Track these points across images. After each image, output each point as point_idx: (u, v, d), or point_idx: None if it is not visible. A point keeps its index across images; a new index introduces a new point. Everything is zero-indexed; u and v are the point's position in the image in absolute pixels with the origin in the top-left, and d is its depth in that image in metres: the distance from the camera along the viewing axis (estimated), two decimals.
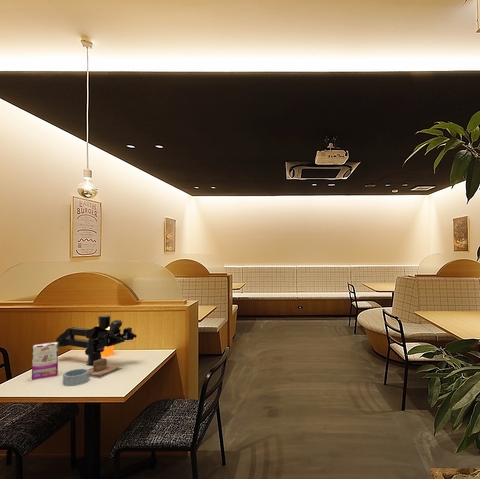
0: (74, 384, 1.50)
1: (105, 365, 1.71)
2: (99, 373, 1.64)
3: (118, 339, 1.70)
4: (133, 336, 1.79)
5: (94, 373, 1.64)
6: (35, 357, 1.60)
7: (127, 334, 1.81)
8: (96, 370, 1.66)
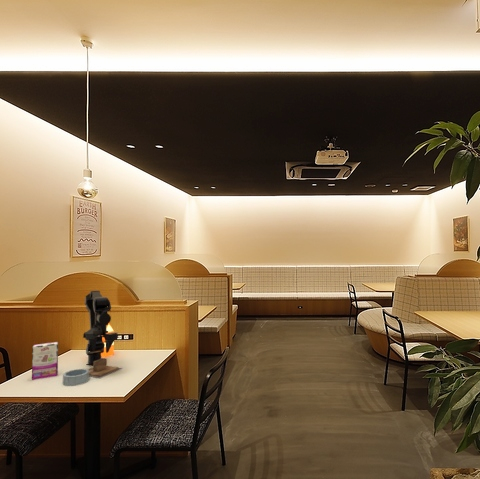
0: (74, 384, 1.50)
1: (105, 365, 1.71)
2: (99, 373, 1.64)
3: None
4: None
5: (94, 373, 1.64)
6: (35, 357, 1.60)
7: None
8: (96, 370, 1.66)
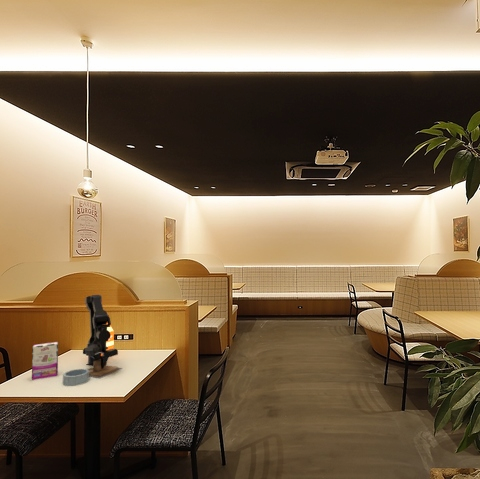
0: (74, 384, 1.50)
1: (105, 365, 1.71)
2: (99, 373, 1.64)
3: None
4: None
5: (94, 373, 1.64)
6: (35, 357, 1.60)
7: None
8: (96, 370, 1.66)
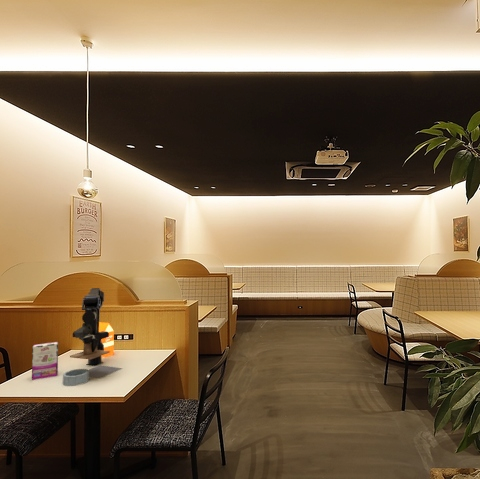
0: (74, 384, 1.50)
1: (96, 348, 1.65)
2: (89, 356, 1.58)
3: None
4: None
5: (84, 356, 1.58)
6: (35, 357, 1.60)
7: None
8: (86, 353, 1.61)
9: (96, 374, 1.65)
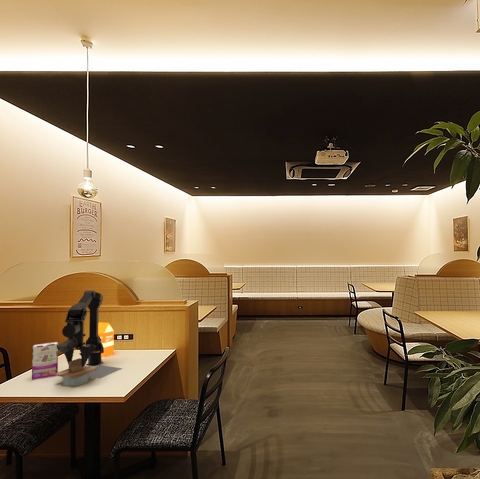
0: (74, 384, 1.50)
1: None
2: (74, 374, 1.50)
3: None
4: None
5: (69, 374, 1.50)
6: (35, 357, 1.60)
7: None
8: (71, 371, 1.53)
9: (96, 374, 1.65)
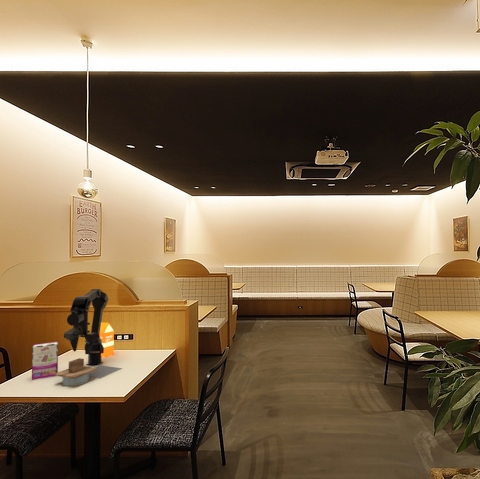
0: (74, 384, 1.50)
1: (82, 366, 1.57)
2: (74, 374, 1.50)
3: None
4: None
5: (69, 374, 1.50)
6: (35, 357, 1.60)
7: None
8: (71, 371, 1.53)
9: (96, 374, 1.65)
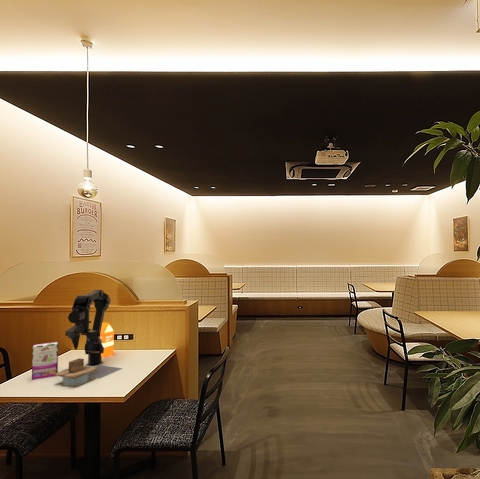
0: (74, 384, 1.50)
1: (82, 366, 1.57)
2: (74, 374, 1.50)
3: None
4: None
5: (69, 374, 1.50)
6: (35, 357, 1.60)
7: None
8: (71, 371, 1.53)
9: (96, 374, 1.65)
